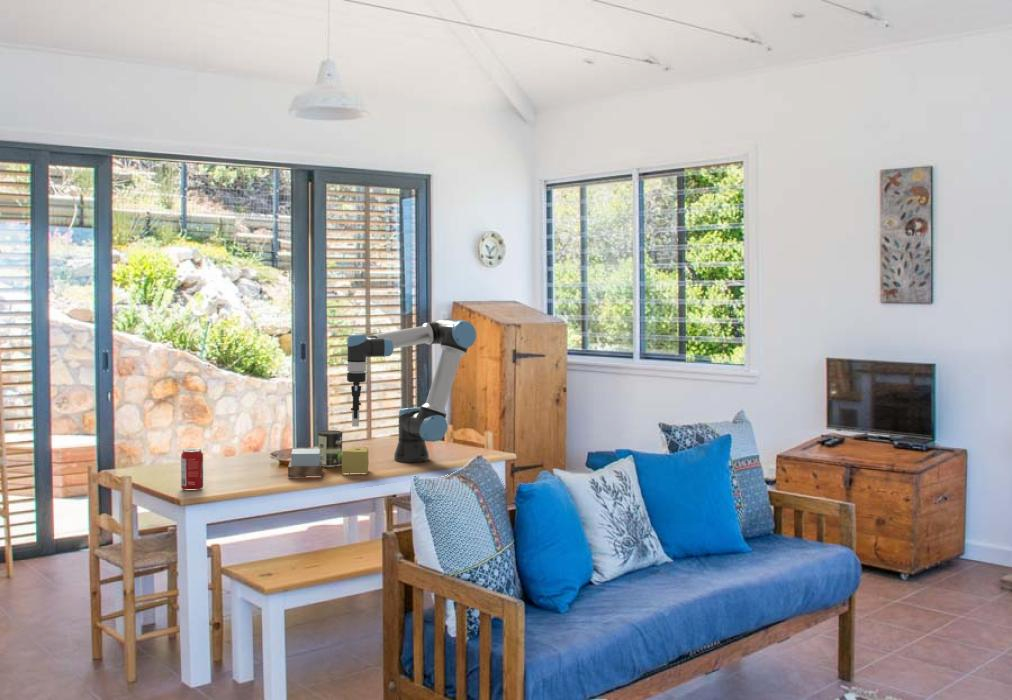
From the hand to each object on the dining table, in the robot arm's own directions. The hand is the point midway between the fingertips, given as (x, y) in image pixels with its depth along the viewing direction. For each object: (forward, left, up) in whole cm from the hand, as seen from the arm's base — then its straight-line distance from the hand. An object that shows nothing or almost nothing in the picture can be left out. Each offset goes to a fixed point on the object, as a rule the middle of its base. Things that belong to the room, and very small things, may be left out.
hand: (355, 423), depth 415 cm
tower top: (+20, +3, -16) cm, 25 cm away
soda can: (+60, +29, -21) cm, 70 cm away
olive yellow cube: (0, 0, -21) cm, 21 cm away
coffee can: (+11, -17, -21) cm, 29 cm away
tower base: (+20, +3, -21) cm, 29 cm away
